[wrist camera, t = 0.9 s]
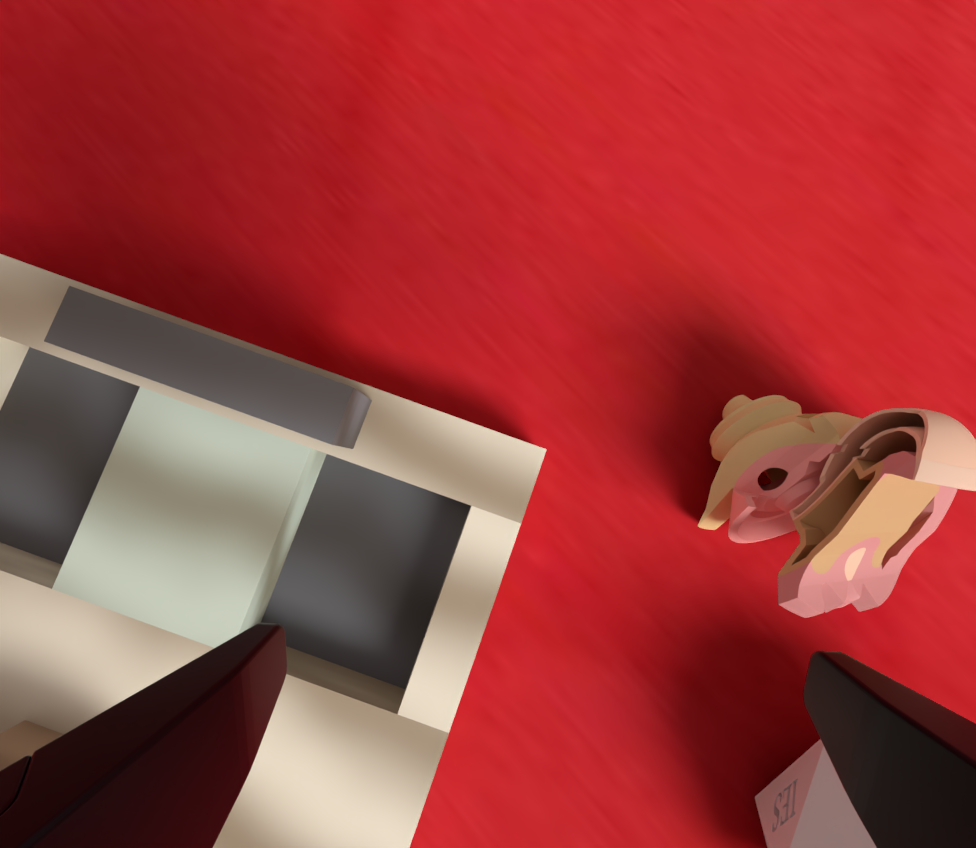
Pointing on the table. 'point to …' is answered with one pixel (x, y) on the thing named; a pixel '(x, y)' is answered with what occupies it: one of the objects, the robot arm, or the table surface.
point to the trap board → (243, 548)
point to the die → (810, 807)
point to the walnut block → (23, 741)
